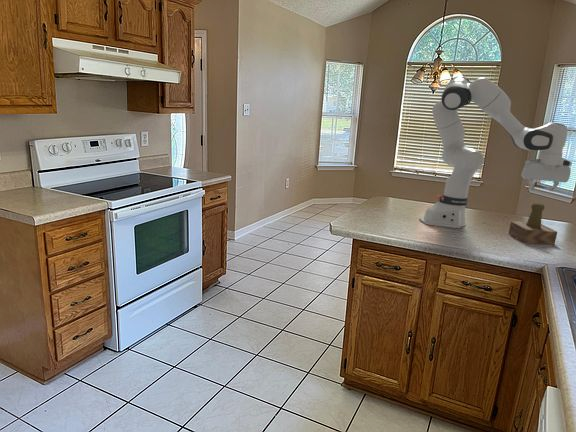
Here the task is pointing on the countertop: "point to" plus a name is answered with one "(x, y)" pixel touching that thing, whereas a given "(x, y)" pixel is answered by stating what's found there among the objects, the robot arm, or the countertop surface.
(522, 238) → the walnut block
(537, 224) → the cork
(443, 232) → the countertop surface
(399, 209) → the countertop surface
